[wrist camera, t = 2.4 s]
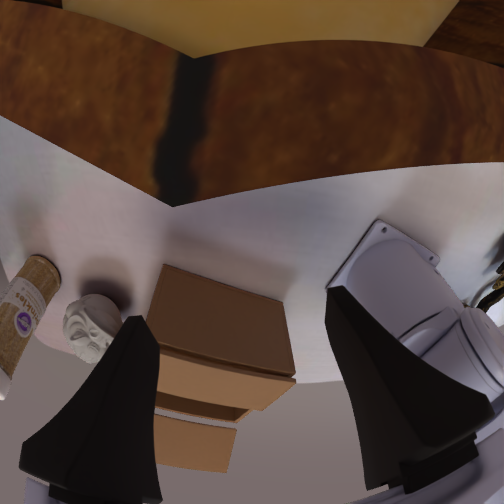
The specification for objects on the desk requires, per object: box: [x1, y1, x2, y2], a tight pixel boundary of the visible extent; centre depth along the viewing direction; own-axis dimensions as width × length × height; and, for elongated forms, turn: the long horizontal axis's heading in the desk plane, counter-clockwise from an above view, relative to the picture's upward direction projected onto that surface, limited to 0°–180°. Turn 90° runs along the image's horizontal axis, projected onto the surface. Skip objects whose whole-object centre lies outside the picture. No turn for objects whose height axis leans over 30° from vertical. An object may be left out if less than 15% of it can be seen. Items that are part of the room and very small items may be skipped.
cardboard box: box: [146, 264, 296, 423], centre depth 22 cm, size 11×11×8 cm
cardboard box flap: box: [154, 414, 237, 473], centre depth 21 cm, size 5×11×1 cm
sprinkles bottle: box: [0, 256, 61, 400], centre depth 16 cm, size 5×5×14 cm
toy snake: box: [463, 262, 504, 313], centre depth 24 cm, size 18×5×10 cm
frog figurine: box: [63, 294, 123, 363], centre depth 21 cm, size 6×7×7 cm
